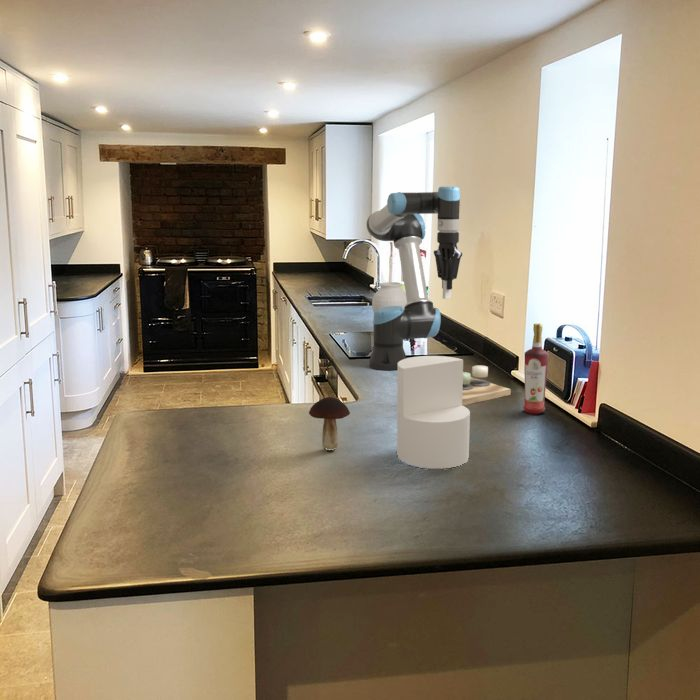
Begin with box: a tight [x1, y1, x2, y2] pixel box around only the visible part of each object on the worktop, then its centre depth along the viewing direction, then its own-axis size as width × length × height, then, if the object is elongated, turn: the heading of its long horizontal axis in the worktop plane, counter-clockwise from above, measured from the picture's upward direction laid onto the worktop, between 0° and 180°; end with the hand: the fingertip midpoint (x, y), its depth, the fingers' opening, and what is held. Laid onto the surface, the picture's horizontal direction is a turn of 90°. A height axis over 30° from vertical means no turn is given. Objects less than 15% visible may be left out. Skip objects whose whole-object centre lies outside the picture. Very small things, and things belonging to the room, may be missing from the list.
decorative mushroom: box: [308, 396, 351, 449], centre depth 192 cm, size 11×11×15 cm
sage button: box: [463, 371, 472, 384], centre depth 246 cm, size 5×5×3 cm
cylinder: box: [396, 355, 471, 469], centre depth 186 cm, size 19×19×25 cm
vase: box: [371, 281, 407, 314], centre depth 343 cm, size 18×18×25 cm
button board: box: [462, 376, 512, 406], centre depth 247 cm, size 22×24×3 cm
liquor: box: [522, 323, 550, 415], centre depth 222 cm, size 7×7×28 cm
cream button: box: [471, 364, 489, 379], centre depth 250 cm, size 5×5×3 cm
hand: (446, 298), depth 256 cm, fingers closed
